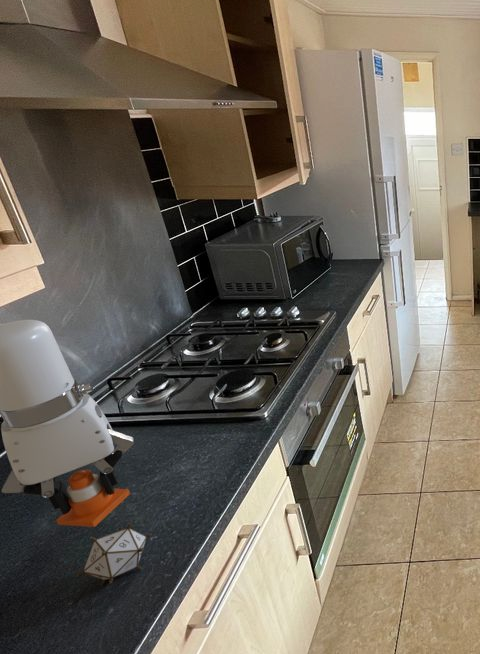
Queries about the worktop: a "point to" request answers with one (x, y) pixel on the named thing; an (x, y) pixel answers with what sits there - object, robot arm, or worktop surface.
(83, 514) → the cone
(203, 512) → the worktop surface
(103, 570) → the game die
